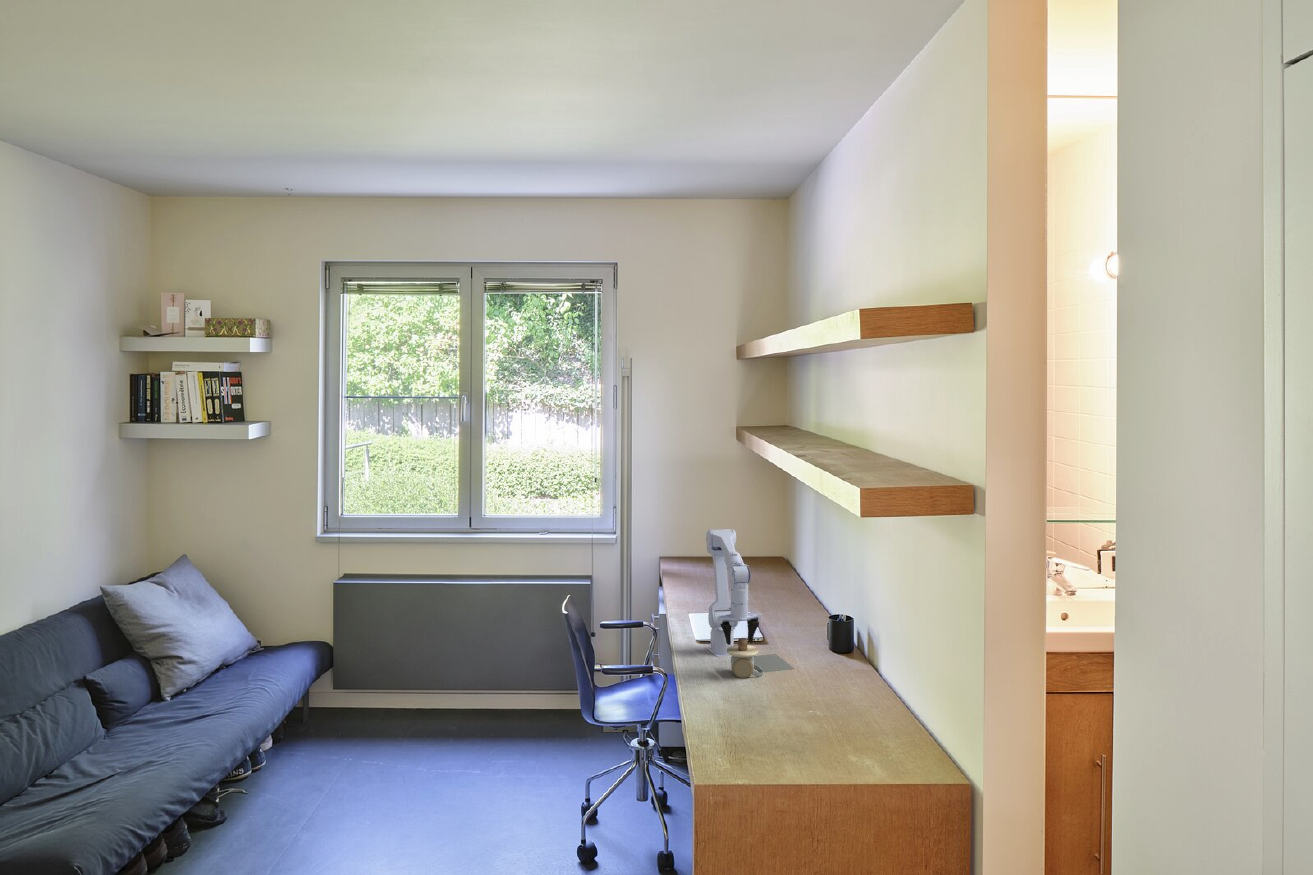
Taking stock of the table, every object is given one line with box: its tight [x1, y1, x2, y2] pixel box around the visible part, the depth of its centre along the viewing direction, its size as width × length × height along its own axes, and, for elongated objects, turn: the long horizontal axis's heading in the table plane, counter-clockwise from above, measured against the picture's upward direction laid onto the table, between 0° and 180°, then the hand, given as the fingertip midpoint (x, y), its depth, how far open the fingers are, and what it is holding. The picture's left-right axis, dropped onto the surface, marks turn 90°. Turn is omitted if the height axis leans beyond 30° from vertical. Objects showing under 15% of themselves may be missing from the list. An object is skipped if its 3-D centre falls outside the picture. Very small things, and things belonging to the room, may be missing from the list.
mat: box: [753, 653, 796, 673], centre depth 279 cm, size 16×12×1 cm
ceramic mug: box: [730, 655, 765, 679], centre depth 268 cm, size 11×8×8 cm
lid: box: [727, 637, 760, 657], centre depth 268 cm, size 10×10×4 cm
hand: (739, 642), depth 269 cm, fingers open, 7 cm apart
